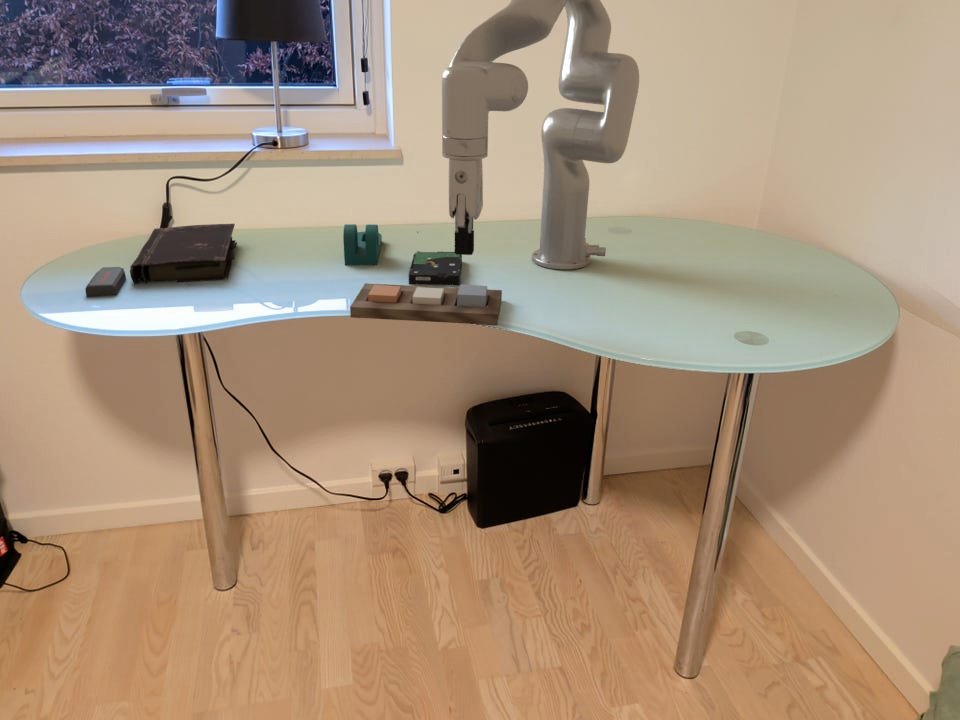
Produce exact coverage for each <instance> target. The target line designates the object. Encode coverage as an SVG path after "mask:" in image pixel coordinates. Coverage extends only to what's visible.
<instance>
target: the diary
mask: <svg viewBox="0 0 960 720" xmlns="http://www.w3.org/2000/svg"><path fill="white" fill-rule="evenodd" d="M234 228H235V223H219V224H218V223H215V224H213V223H212V224H211V223H210V224H209V223H208V224H193V225H180V226H172V227H165V228H164V227H161V228H160V227H159V228H153V230H152V232H151V234H150V235H149V238H148V239H147V241H146V242H145V243H144V245H143V246H142V248H141V249H140V251H139V253H138V255H137V257H136V259H134V261H133V262H132V263H131V265H130V266H129V268H130V270H129V274H130V279H131V281H132V283H133V285H138V283H139V281H140V280H141V278H142V279H143V280H144V282H145V285H146V284H148V283H149V281H150V279H151V282H152V283H159V282H160V283H161V282H176V283H190V282H192V283H193V282H213V281H225V280H226V279H229V276H230V272H231V269H232V265H233V260H235V259H236V258H235V254H234V253H235V252H234V250H235V249H236V248H237V244H238V242H237V240H234V239H233V237H232V236H233V232H234Z"/></svg>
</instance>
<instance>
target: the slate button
mask: <svg viewBox="0 0 960 720" xmlns="http://www.w3.org/2000/svg"><path fill="white" fill-rule="evenodd" d="M458 288H459V290H458V293H457V306H468V307H487V305H486V304H487V289H488V285H479V284H478V285H477V284H475V285H474V284H473V285H472V284H460V285H459V287H458Z"/></svg>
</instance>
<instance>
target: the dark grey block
mask: <svg viewBox="0 0 960 720" xmlns="http://www.w3.org/2000/svg"><path fill="white" fill-rule="evenodd" d="M124 269H125V268H124V267H123V266H104V267H103V266H102V268H100V269H99V270H98V271H96V273H95V274H94V275H93V277H92V278H91V280H90V281H89V282H88V283H87V285H86V287H85V295H86V298H96V297H98V298H99V297H100V298H101V297H118V294H119V293H120V291H121V289H122V288H123V286H124V284H125V282H126V281H127V276H126V272H125V270H124Z"/></svg>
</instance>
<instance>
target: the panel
mask: <svg viewBox="0 0 960 720" xmlns="http://www.w3.org/2000/svg"><path fill="white" fill-rule="evenodd" d="M374 285H386V286H401V298H400V300H399V302H398V303H390V302H371V301H368V294H369V292H370V291H371V289H372V287H373V286H374ZM417 287H426V288H444V303H443V305H429V304H413V298H412V297H413V295H414V292H415V290H416V288H417ZM458 290H459V287H443V286H429V285H407V284H406V285H405V284H387V283H386V284H385V283H384V284H383V283H368V282H367V283H364V284H363V286H362V287H361V289H360V291H359V293H358V294H357V296H356V297H355V299H354V300H353V302H352V303H351V305H350V307H349V310H350V311H349V312H350V313H349V315H350V318H355V319H371V320H373V319H376V320H390V321H391V320H392V321H393V320H394V321H410V322H411V321H413V322H414V321H415V322H433V323H447V324H448V323H449V324H450V323H451V324H466V325H467V324H469V325H487V326H488V325H489V326H498V325H499V318H500V313H501V305H502V301H503V298H502V295H503V293H502V292H503V290H501V289H489V288H487V304H486V307H468V306H457V293H458Z"/></svg>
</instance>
